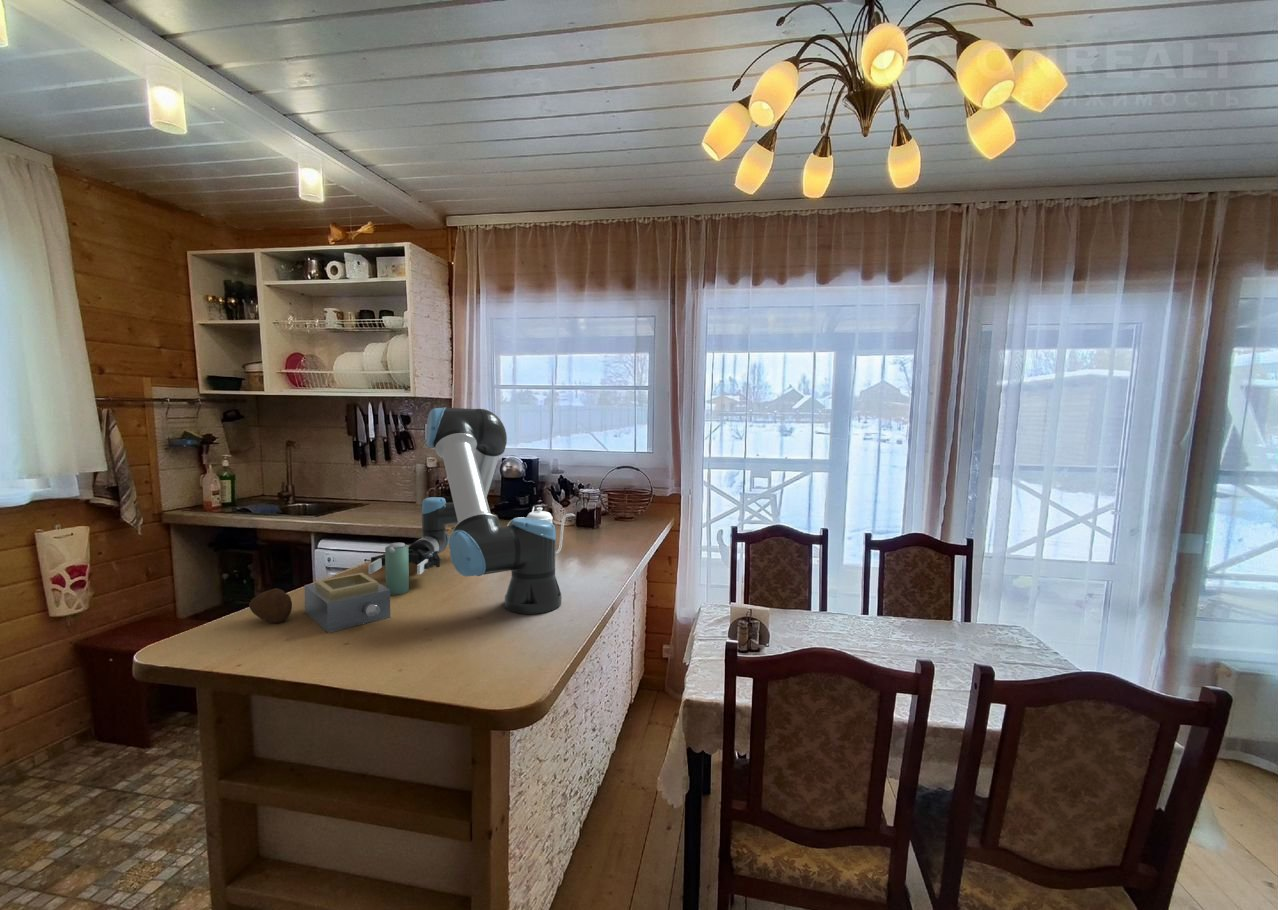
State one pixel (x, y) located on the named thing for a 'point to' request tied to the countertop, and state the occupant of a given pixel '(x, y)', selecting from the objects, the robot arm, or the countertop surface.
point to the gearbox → (346, 601)
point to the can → (397, 568)
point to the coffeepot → (547, 517)
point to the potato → (272, 605)
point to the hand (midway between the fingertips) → (394, 569)
